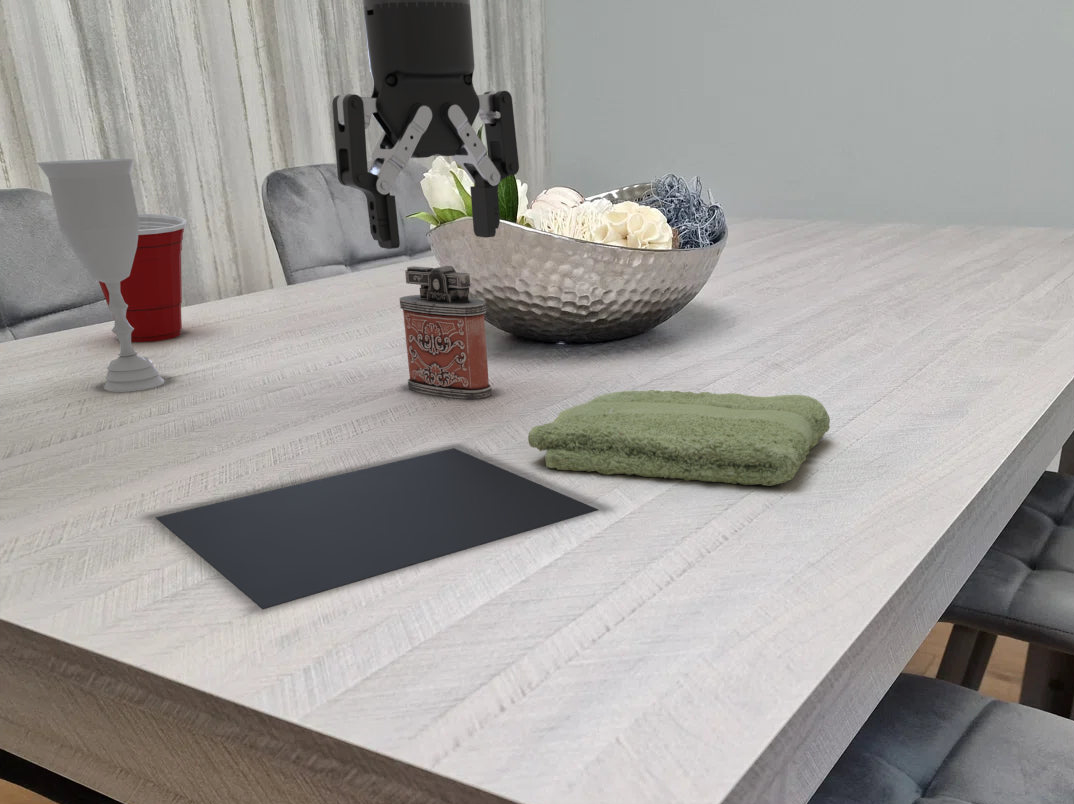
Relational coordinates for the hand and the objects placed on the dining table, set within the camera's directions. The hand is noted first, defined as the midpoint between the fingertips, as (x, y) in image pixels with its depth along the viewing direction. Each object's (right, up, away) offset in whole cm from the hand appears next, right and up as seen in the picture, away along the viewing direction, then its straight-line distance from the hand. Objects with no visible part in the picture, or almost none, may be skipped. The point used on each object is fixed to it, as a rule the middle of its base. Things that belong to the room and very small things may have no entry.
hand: (438, 242), depth 81 cm
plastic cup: (-34, 0, +29) cm, 45 cm away
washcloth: (+18, -18, -11) cm, 28 cm away
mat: (0, -23, -21) cm, 31 cm away
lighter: (0, -11, +5) cm, 12 cm away
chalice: (-28, -9, +10) cm, 31 cm away
